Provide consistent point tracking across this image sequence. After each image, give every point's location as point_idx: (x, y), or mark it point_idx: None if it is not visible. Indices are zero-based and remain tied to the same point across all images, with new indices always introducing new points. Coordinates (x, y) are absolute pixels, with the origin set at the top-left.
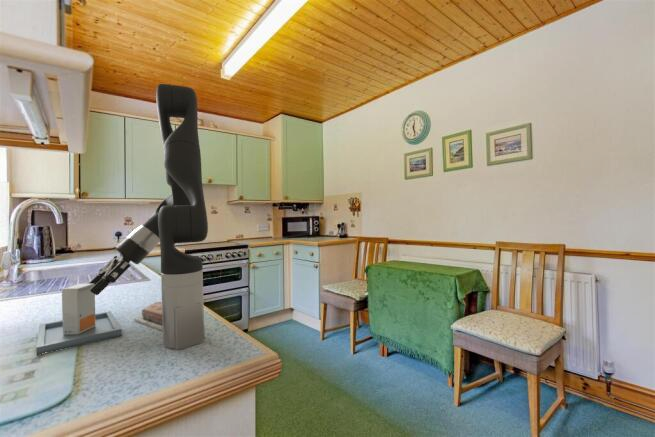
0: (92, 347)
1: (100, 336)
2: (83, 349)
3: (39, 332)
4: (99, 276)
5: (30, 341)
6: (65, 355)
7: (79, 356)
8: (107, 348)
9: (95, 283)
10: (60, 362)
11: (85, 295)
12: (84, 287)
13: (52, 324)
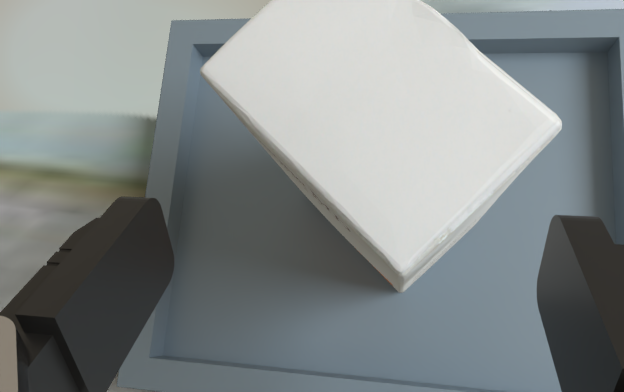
0: None
1: None
2: (99, 197)
3: None
4: (611, 389)
5: (440, 6)
6: (90, 132)
7: (30, 176)
8: (20, 283)
9: (559, 312)
10: (29, 114)
11: (295, 181)
12: (269, 147)
13: (616, 75)
